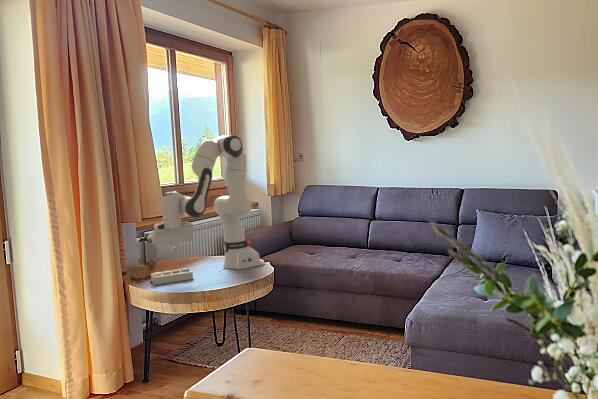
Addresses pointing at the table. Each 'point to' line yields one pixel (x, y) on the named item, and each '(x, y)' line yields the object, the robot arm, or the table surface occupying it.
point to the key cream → (157, 274)
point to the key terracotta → (176, 271)
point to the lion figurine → (144, 267)
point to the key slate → (184, 269)
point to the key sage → (166, 272)
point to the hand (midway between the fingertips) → (174, 251)
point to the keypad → (172, 278)
